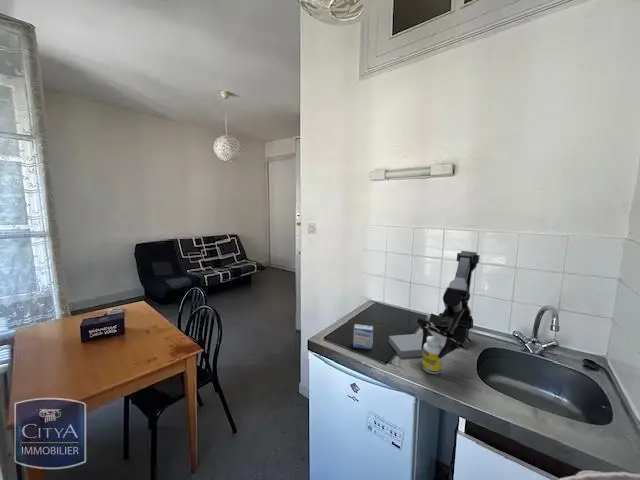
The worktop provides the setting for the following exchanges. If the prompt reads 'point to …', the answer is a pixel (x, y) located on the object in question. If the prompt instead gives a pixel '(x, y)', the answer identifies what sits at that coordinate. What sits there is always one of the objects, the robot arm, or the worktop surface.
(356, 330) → the medicine box
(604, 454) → the worktop surface
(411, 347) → the riser
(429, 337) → the pill bottle
